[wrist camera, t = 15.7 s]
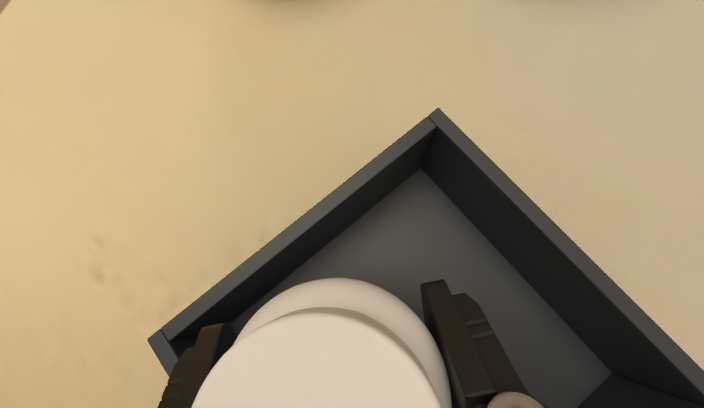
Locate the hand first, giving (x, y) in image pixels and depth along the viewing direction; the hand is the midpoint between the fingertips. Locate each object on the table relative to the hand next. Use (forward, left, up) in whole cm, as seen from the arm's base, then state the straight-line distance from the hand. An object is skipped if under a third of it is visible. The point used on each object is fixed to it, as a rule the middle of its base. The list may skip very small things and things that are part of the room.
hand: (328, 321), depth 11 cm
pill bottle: (-1, -1, -6) cm, 7 cm away
